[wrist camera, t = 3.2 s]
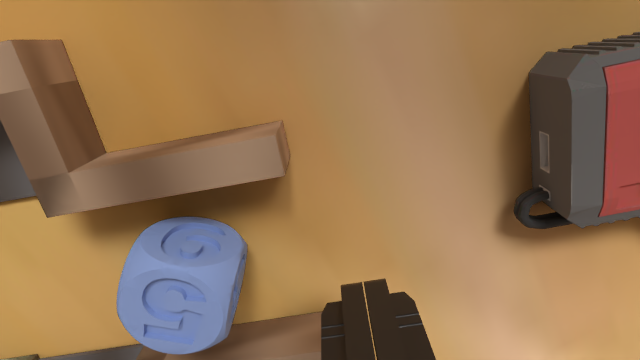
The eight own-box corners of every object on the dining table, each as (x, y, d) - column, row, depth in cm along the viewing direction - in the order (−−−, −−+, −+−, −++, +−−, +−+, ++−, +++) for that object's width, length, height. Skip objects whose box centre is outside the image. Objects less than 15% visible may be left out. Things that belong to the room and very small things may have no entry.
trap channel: (255, -1, 14) (241, -9, 12) (344, 401, 21) (347, 447, 18) (-234, 101, 15) (-334, 112, 13) (1, 446, 22) (-37, 495, 20)
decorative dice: (156, 284, 18) (114, 347, 14) (161, 208, 17) (116, 257, 13) (240, 298, 18) (219, 364, 15) (252, 225, 17) (232, 277, 13)
